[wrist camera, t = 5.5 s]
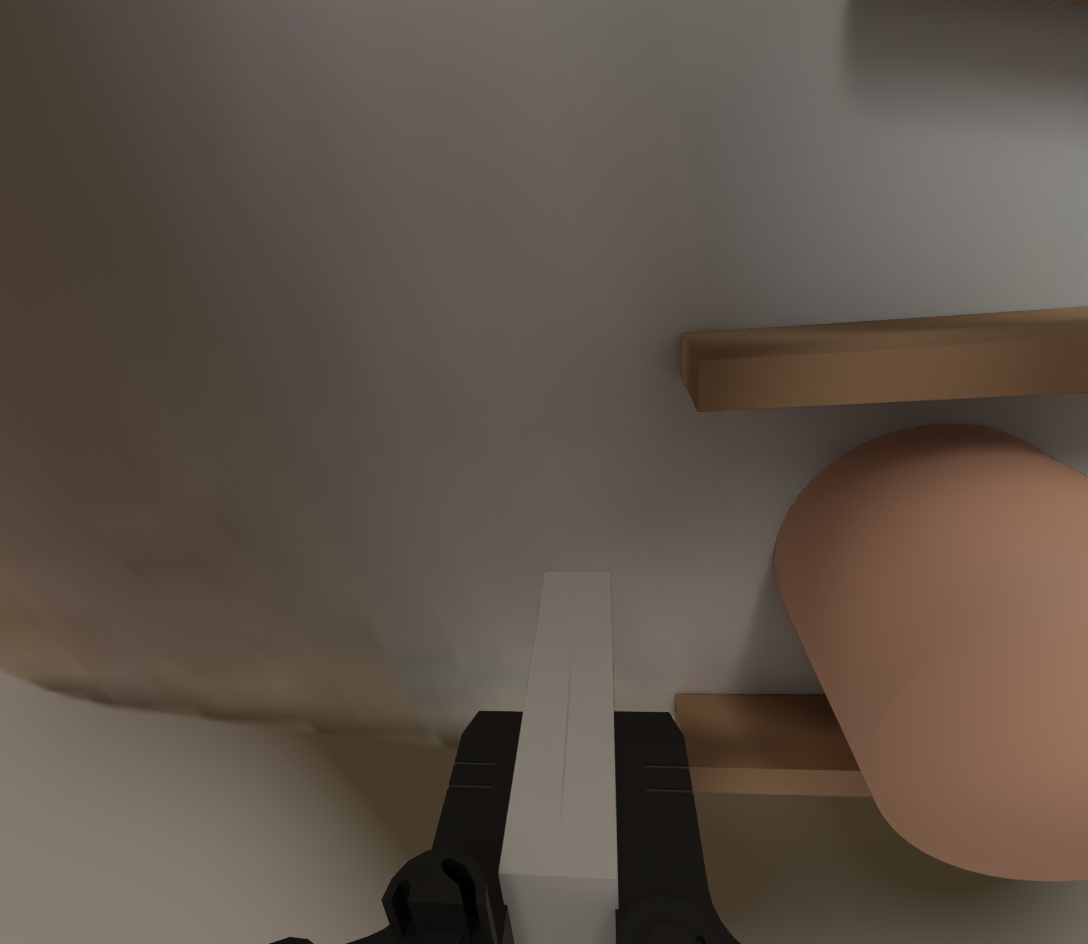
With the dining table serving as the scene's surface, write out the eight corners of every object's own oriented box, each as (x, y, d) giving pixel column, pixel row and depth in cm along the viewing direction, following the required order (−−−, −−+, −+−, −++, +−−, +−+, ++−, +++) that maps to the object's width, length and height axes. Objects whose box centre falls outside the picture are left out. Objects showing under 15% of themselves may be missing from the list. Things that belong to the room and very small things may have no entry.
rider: (763, 654, 17) (842, 872, 11) (785, 430, 14) (908, 578, 8) (1025, 654, 16) (1248, 889, 10) (1108, 415, 13) (1481, 569, 7)
